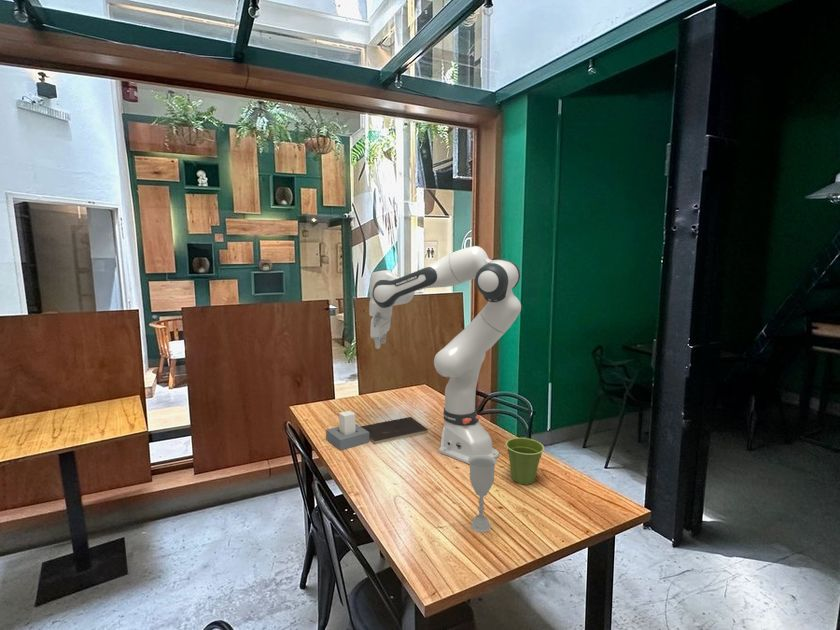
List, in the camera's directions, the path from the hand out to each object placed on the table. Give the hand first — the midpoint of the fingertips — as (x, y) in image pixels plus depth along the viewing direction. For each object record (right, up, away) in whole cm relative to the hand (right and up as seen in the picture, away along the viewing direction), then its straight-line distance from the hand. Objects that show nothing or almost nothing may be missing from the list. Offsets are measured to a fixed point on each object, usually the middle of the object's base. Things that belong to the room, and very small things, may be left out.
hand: (380, 345), depth 170 cm
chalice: (+31, -43, -58) cm, 79 cm away
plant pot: (+48, -40, -34) cm, 71 cm away
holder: (-12, -36, -6) cm, 38 cm away
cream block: (-12, -36, -6) cm, 38 cm away
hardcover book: (+5, -36, +3) cm, 36 cm away
